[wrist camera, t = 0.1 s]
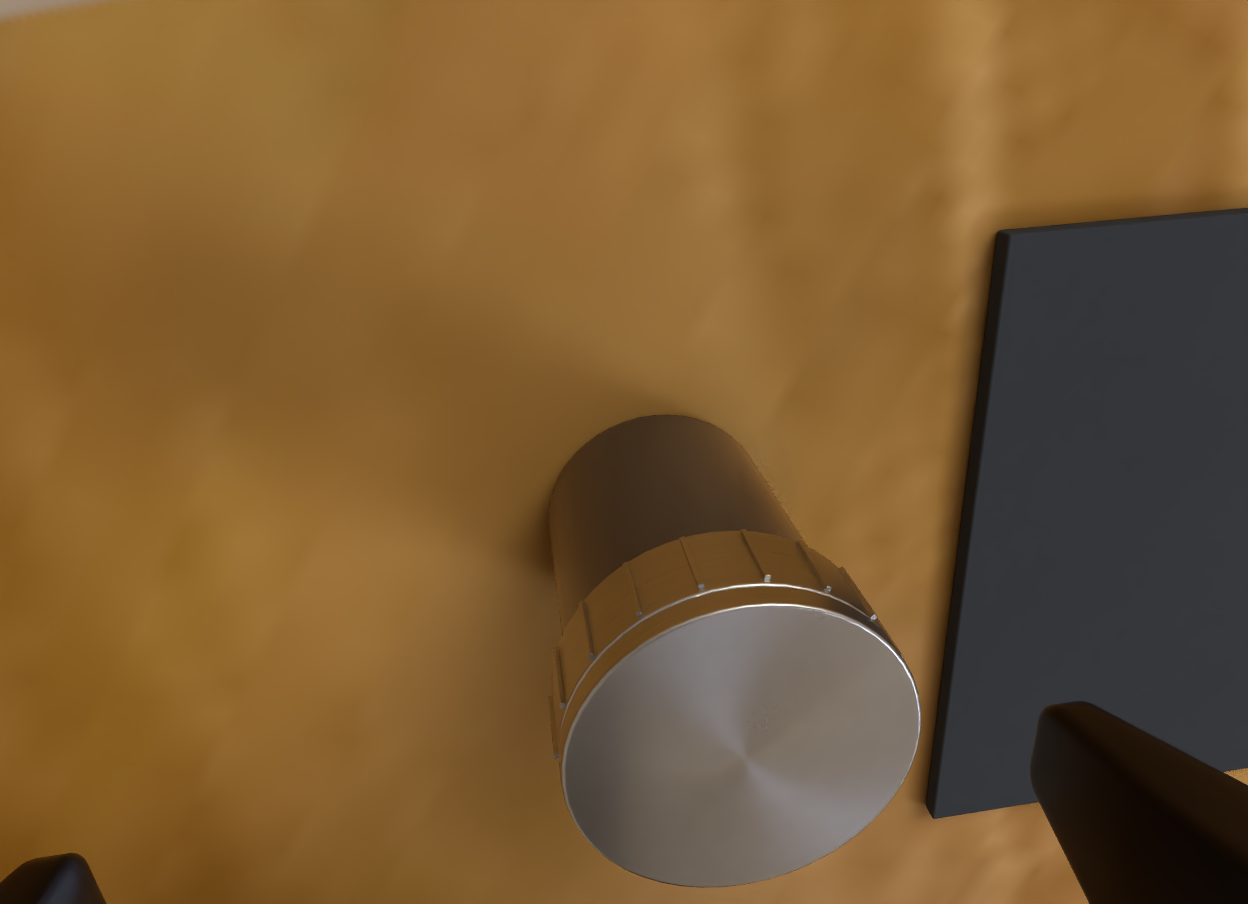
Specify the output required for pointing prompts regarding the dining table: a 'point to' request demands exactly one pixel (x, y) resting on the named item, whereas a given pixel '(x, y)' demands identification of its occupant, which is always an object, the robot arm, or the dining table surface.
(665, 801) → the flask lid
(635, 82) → the dining table surface
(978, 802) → the slate mat
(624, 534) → the dark brown cylinder
